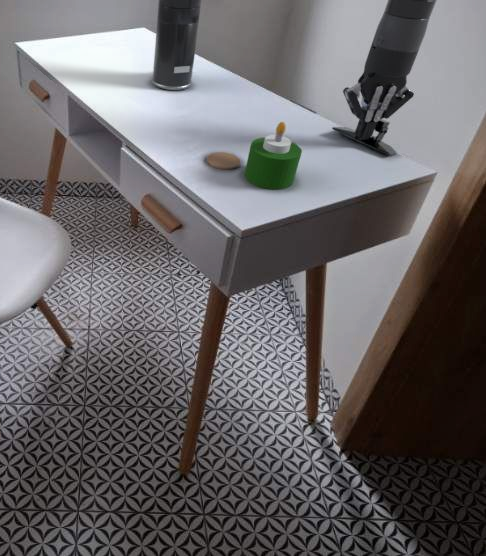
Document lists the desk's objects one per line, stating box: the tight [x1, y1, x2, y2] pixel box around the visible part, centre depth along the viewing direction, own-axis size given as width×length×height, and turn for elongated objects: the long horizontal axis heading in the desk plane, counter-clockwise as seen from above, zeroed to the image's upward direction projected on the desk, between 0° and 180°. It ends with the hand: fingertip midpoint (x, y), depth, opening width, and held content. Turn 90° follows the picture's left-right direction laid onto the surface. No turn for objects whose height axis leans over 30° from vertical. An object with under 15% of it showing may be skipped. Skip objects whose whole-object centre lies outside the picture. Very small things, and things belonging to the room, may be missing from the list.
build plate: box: [331, 118, 398, 156], centre depth 100 cm, size 12×7×5 cm, turn 41°
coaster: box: [206, 151, 241, 170], centre depth 93 cm, size 6×6×1 cm
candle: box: [244, 121, 303, 191], centre depth 86 cm, size 8×8×10 cm
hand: (361, 138), depth 99 cm, fingers closed
